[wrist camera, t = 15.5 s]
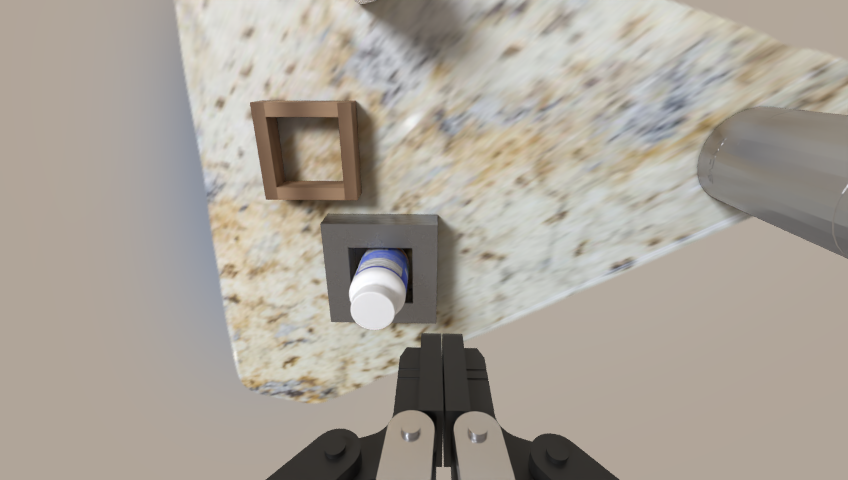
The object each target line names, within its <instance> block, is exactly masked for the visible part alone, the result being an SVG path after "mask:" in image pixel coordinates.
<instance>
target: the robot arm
mask: <svg viewBox="0 0 848 480" xmlns="http://www.w3.org/2000/svg"><path fill="white" fill-rule="evenodd" d="M697 167H698V177H699V181H700V184H701V185H702V187H703V189H704V190H705V191H706V192H707V193H708V194H709V195H710V196H711V197H713V198H716V199H718V200H720V201H722V202H724V203H726V204H728V205H731V206H733V207H735V208H737V209H739V210H741V211H743V212H745V213H748V214H750V215H752V216H754V217H757V218H759V219H761V220H763V221H765V222H768V223H770V224H772V225H774V226H777V227H779V228H781V229H783V230H785V231H788V232H790V233H792V234H794V235H797V236H799V237H801V238H803V239H806V240H808V241H810V242H812V243H814V244H816V245H819V246H821V247H823V248H825V249H828V250H830V251H832V252H834V253H836V254H839V255H841V256H843V257H845V258H848V115H841V114H831V113H822V112H813V111H805V110H796V109H786V108H777V107H755V108H750V109H746V110H744V111H741V112H739V113H736V114H735V115H733V116H731V117H730V118H728V119H726V120H725V121H724V122H723V123H722V124H720V125H719V126H718V127H717V128H716V129H715V130H714V131H713V133H712V134H711V135H710V136H709V138H708V139H707V141H706V142H705V144H704V146H703V148H702V151H701V153H700V156H699V160H698V166H697ZM442 441H443V450H444V467H451V478H452V480H619V479H618V478H617V477H615V476H614V475H613V474H611V473H610V472H609V471H608V470H606V469H605V468H604V467H603V466H601V465H600V464H599V463H598V462H596V461H595V460H594V459H593V458H591V457H590V456H589V455H588V454H586V453H585V452H584V451H583V450H581V449H580V448H579V447H578V446H576V445H575V444H574V443H573V442H571V441H570V440H568V439H567V438H565V437H563V436H560V435H556V434H543V435H540V436H538V437H536V438H535V439H534V441H533V442H531V441H528V440H524V439H521V438H518V437H516V436H513V435H511V434H509V433H508V432H506V431H505V430H504V429H503V428H502V427H501V426H500V425H499V423H498V422H497V420H496V418H495V414H494V409H493V403H492V398H491V393H490V386H489V381H488V375H487V372H486V364H485V359H484V357H483V356H482V354H481V353H480V352H479V350H478V349H477V348H464V344H463V336H462V334H443V335H442V350H441V334H427V333H422V334H421V348H412V347H407V348H406V349H405V351H404V352H403V354H402V355H401V356H400V362H399V370H398V379H397V388H396V396H395V405H394V413H393V417H392V419H391V420H390V422H389V424H388V425H387V426H386V427H385V428H384V429H383V430H381V431H380V432H378V433H376V434H373V435H369V436H366V437H362V438H358V437H357V435H356V434H355V433H353V432H351V431H349V430H346V429H334V430H330V431H327V432H326V433H324V434H322V435H321V436H319V437H318V438H317V439H316V440H314V441H313V442H312V443H311V444H309V445H308V446H307V447H306V448H304V449H303V450H302V451H301V452H300V453H298V454H297V455H296V456H295V457H293V458H292V459H291V460H290V461H288V462H287V463H286V464H285V465H283V466H282V467H281V468H280V469H278V470H277V471H276V472H275V473H274V474H272V475H271V476H270V477H269V478H267V479H266V480H436V467H442Z"/></svg>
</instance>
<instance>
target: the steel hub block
mask: <svg viewBox="0 0 848 480" xmlns="http://www.w3.org/2000/svg"><path fill="white" fill-rule="evenodd" d="M320 225H321V234H322V243H323V252H324V261H325V270H326V279H327V288H328V297H329V306H330V315H331V322H355V321H354V319H353V318H352V315H351V302H350V298H349V289H350V286H351V283H352V281H353V278H354V276H355V274H356V264H355V251H354V248H412V256H413V289H407V291H406V298H405V303H404V305H403V307H402V309H401V310H400V311H399V312H398V313H397V314H396V315H395V317H394V319H393V321H392V322H391V323H436V301H437V242H438V216H437V215H418V214H327V216H326V217H325V218H324V220H323V221H322V222H321V224H320Z"/></svg>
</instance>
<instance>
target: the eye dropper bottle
mask: <svg viewBox="0 0 848 480" xmlns="http://www.w3.org/2000/svg"><path fill="white" fill-rule="evenodd" d="M355 1H356V2H357V3H359V4H366V3H370V2H373V1H376V0H355Z"/></svg>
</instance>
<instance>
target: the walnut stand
mask: <svg viewBox="0 0 848 480" xmlns="http://www.w3.org/2000/svg"><path fill="white" fill-rule="evenodd" d="M250 106H251V112H252V118H253V124H254V130H255V136H256V142H257V148H258V154H259V160H260V166H261V172H262V178H263V184H264V190H265V196H266V200H358V198H359V197H360V195H361V193H362V190H361V174H360V158H359V143H358V127H357V111H356V101H256V102H250ZM276 117H338V121H339V133H340V145H341V157H342V170H343V181H285V174H284V167H283V160H282V153H281V146H280V139H279V132H278V125H277V118H276Z"/></svg>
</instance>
